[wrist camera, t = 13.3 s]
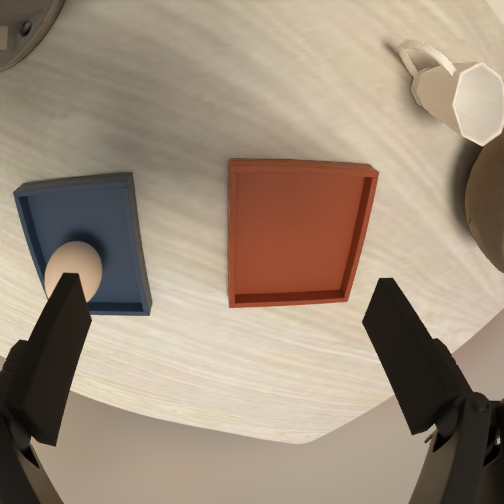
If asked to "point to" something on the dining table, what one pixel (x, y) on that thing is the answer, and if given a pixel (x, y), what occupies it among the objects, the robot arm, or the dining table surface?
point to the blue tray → (90, 234)
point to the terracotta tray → (295, 230)
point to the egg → (75, 267)
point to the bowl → (488, 201)
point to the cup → (458, 93)
